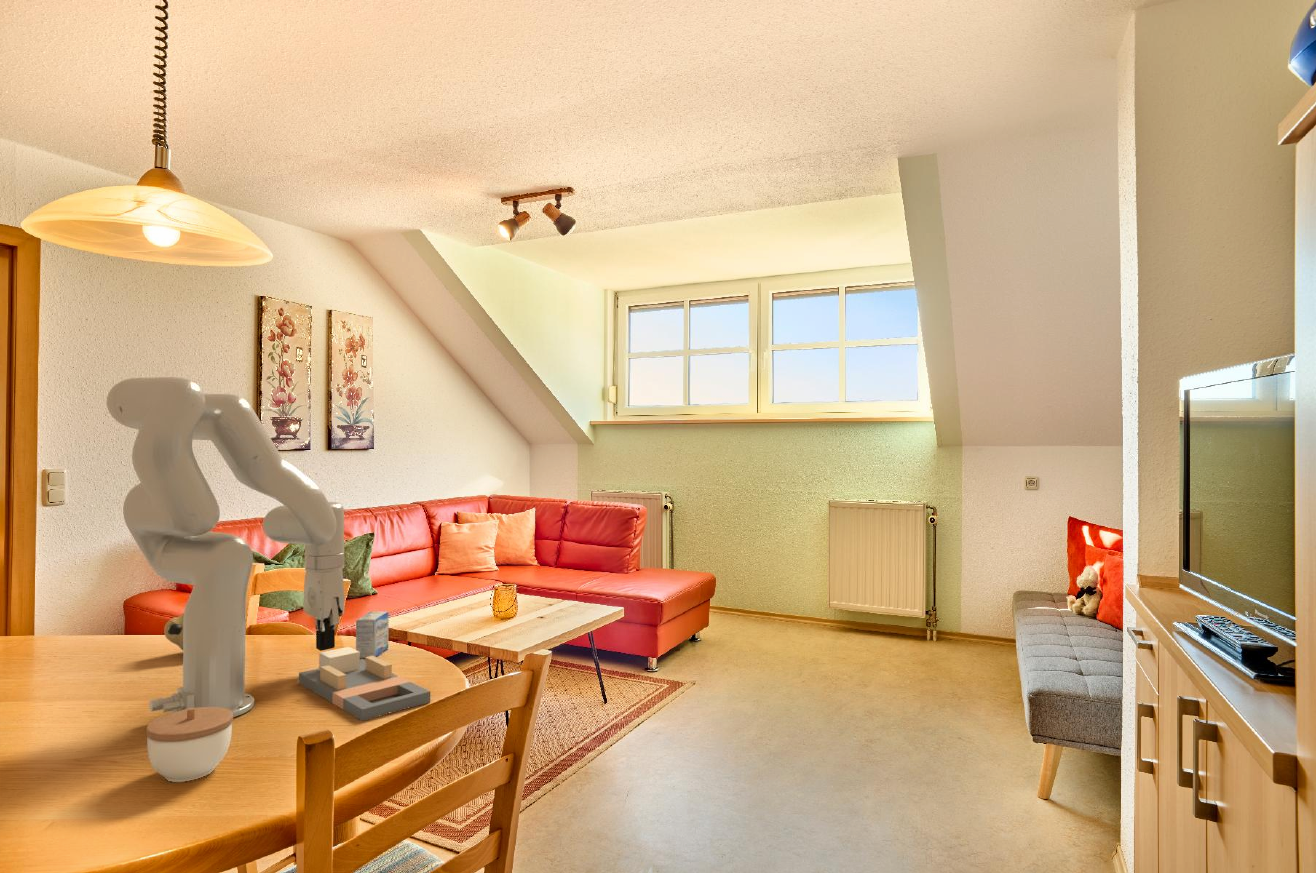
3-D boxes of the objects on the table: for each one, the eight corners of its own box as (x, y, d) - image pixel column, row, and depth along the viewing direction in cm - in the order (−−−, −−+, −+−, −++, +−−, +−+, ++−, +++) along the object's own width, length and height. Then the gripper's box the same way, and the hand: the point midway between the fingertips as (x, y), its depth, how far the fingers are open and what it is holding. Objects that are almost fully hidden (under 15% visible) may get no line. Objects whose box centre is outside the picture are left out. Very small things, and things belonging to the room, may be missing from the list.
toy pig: (163, 652, 166) (164, 604, 166) (225, 644, 173) (226, 598, 173) (163, 664, 158) (164, 613, 158) (229, 655, 165) (229, 607, 165)
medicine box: (375, 659, 164) (375, 619, 164) (355, 658, 164) (355, 619, 164) (388, 648, 172) (389, 611, 172) (369, 648, 172) (370, 610, 172)
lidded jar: (138, 771, 109) (139, 707, 109) (221, 750, 116) (221, 690, 116) (154, 797, 101) (155, 728, 101) (241, 773, 109) (242, 709, 109)
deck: (362, 720, 129) (362, 694, 129) (298, 682, 148) (299, 660, 148) (430, 702, 139) (430, 677, 139) (362, 668, 157) (362, 647, 157)
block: (329, 675, 146) (329, 657, 146) (318, 669, 150) (319, 652, 150) (359, 669, 151) (359, 651, 151) (348, 663, 154) (348, 646, 154)
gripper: (292, 559, 158) (292, 644, 159) (321, 569, 148) (322, 661, 149) (327, 554, 164) (328, 637, 164) (358, 564, 153) (359, 652, 154)
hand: (325, 648), depth 156 cm, fingers closed
